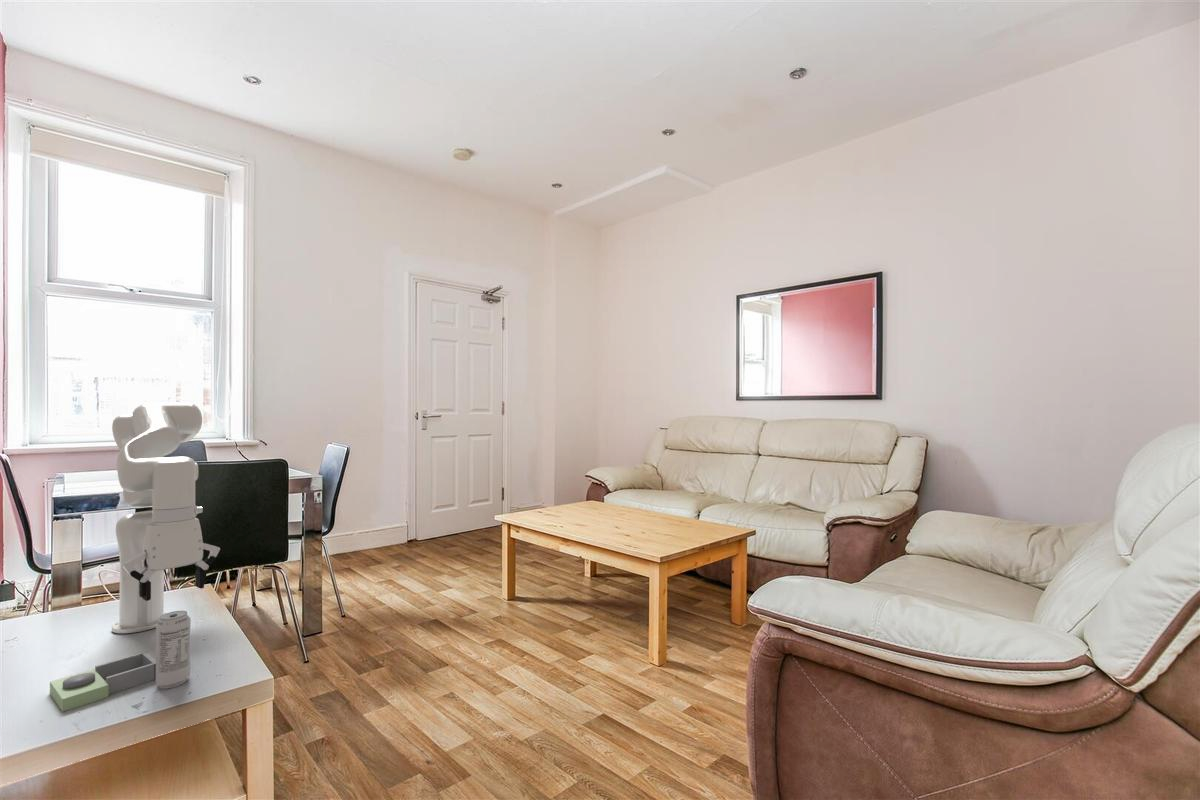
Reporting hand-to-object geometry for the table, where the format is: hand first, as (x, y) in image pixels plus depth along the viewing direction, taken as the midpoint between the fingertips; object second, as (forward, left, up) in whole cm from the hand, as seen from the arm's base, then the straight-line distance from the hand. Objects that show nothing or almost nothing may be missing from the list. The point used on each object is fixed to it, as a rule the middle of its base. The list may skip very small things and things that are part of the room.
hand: (173, 593), depth 121 cm
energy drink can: (0, 0, -20) cm, 20 cm away
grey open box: (-10, -9, -20) cm, 24 cm away
